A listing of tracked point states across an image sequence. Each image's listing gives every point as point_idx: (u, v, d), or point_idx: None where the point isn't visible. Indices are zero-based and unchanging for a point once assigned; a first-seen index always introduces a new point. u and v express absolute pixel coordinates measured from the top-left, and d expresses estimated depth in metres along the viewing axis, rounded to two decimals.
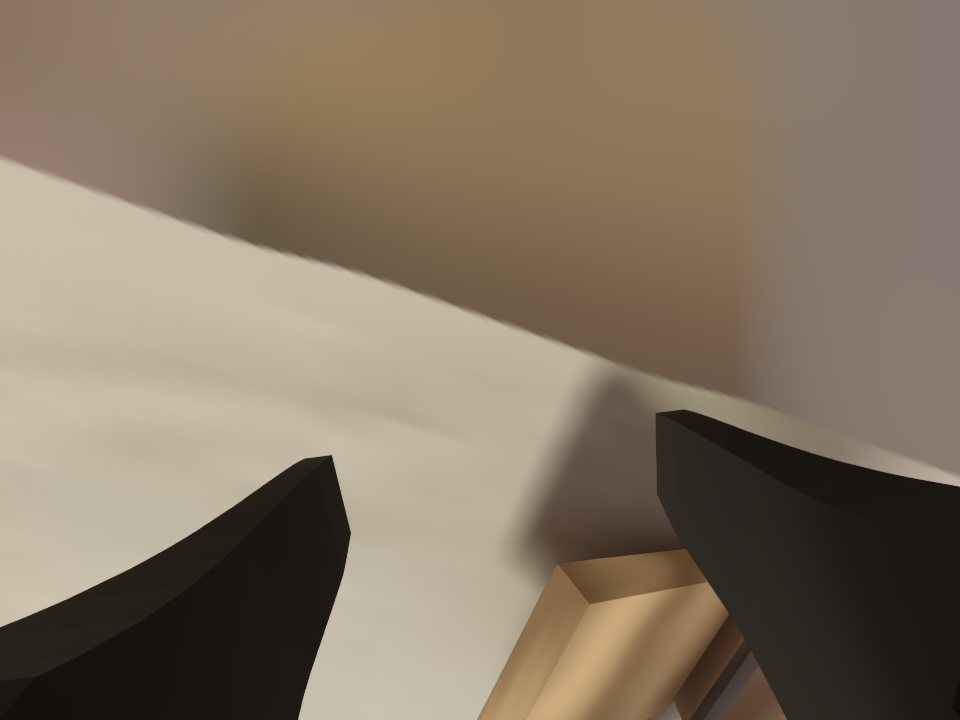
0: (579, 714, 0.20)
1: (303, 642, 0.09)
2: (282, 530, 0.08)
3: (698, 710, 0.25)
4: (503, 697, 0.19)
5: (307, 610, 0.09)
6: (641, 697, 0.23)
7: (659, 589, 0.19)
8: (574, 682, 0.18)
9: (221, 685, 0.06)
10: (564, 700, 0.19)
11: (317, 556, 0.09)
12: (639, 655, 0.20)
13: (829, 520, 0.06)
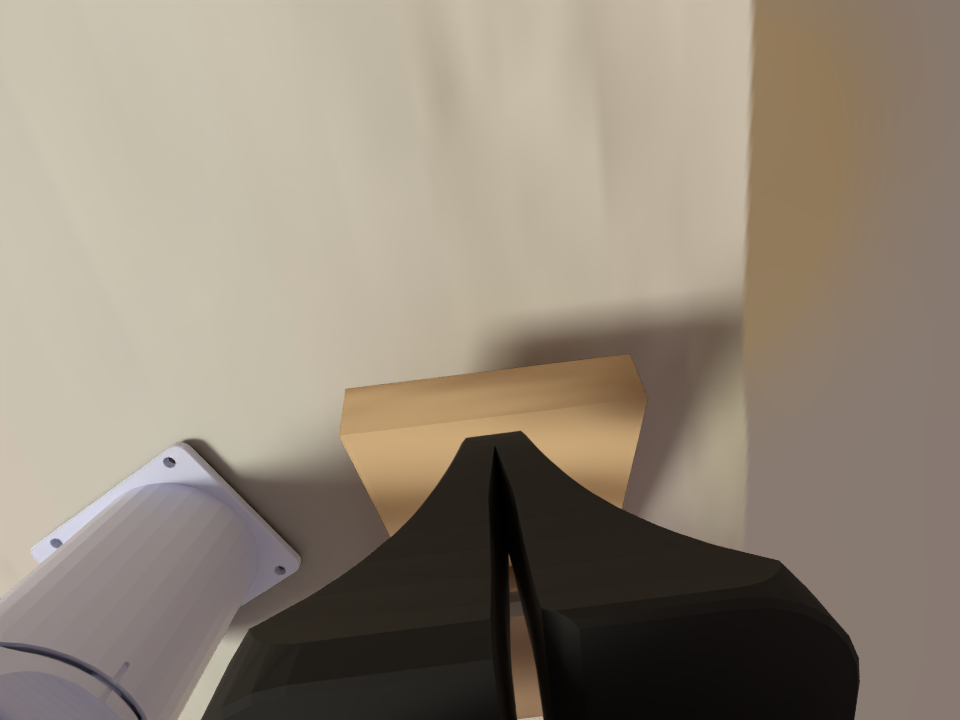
0: None
1: (506, 616, 0.09)
2: (493, 503, 0.08)
3: None
4: (442, 391, 0.15)
5: (504, 585, 0.09)
6: None
7: (630, 466, 0.17)
8: None
9: (504, 649, 0.06)
10: None
11: (502, 532, 0.09)
12: None
13: (526, 558, 0.06)
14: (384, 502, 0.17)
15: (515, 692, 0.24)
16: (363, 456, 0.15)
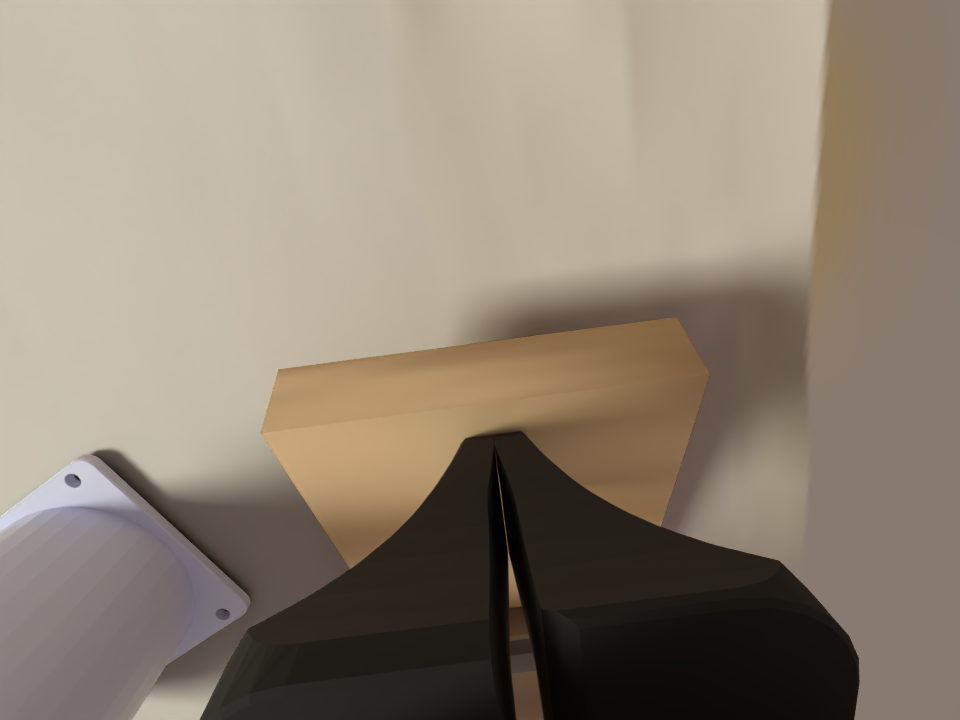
0: (421, 501, 0.12)
1: (505, 616, 0.09)
2: (492, 503, 0.08)
3: None
4: (413, 369, 0.11)
5: (504, 585, 0.09)
6: None
7: (675, 476, 0.13)
8: None
9: (503, 649, 0.06)
10: None
11: (501, 532, 0.09)
12: None
13: (526, 559, 0.06)
14: (338, 528, 0.13)
15: None
16: (301, 464, 0.11)
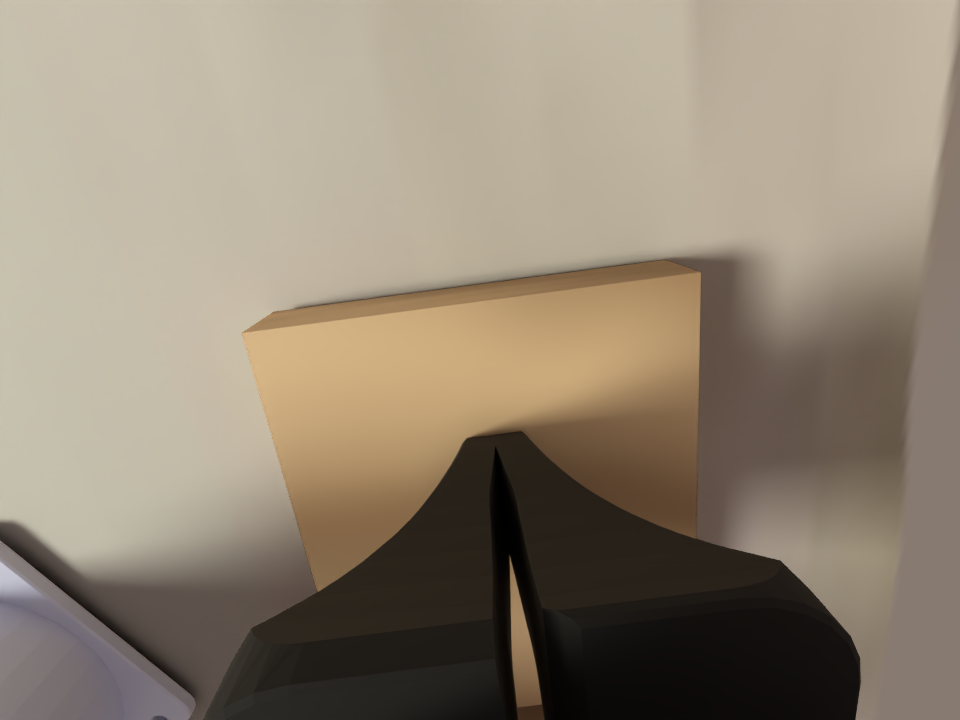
0: (405, 462, 0.11)
1: (507, 616, 0.09)
2: (493, 503, 0.08)
3: None
4: (404, 299, 0.11)
5: (505, 585, 0.09)
6: None
7: (696, 444, 0.11)
8: (500, 380, 0.10)
9: (505, 649, 0.06)
10: (457, 385, 0.10)
11: (502, 532, 0.09)
12: None
13: (527, 558, 0.06)
14: (309, 506, 0.11)
15: None
16: (277, 386, 0.10)
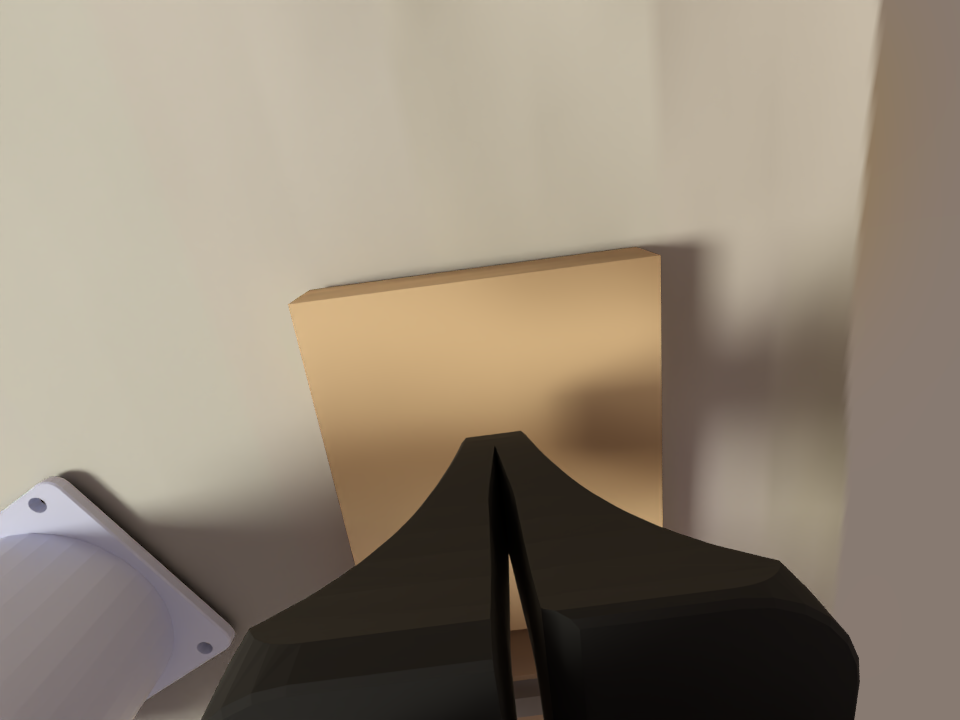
0: (419, 413, 0.13)
1: (506, 616, 0.09)
2: (493, 503, 0.08)
3: None
4: (418, 279, 0.13)
5: (504, 585, 0.09)
6: None
7: (660, 399, 0.13)
8: (497, 344, 0.13)
9: (504, 649, 0.06)
10: (462, 348, 0.13)
11: (502, 532, 0.09)
12: None
13: (526, 558, 0.06)
14: (340, 450, 0.13)
15: None
16: (316, 348, 0.12)
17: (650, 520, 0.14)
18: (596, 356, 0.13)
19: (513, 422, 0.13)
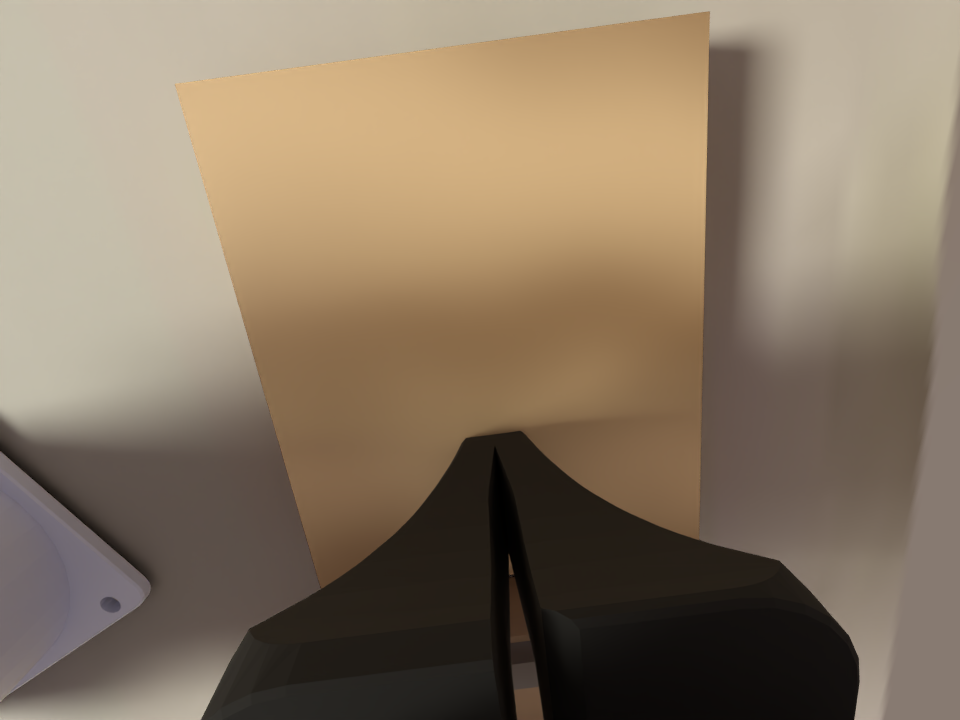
0: (369, 260, 0.09)
1: (506, 616, 0.09)
2: (493, 503, 0.08)
3: None
4: None
5: (504, 585, 0.09)
6: (387, 459, 0.11)
7: (703, 244, 0.10)
8: (477, 153, 0.09)
9: (504, 649, 0.06)
10: (427, 159, 0.09)
11: (502, 532, 0.09)
12: (522, 336, 0.10)
13: (526, 559, 0.06)
14: (261, 315, 0.10)
15: None
16: (219, 156, 0.09)
17: (685, 422, 0.11)
18: (615, 173, 0.09)
19: (500, 275, 0.10)
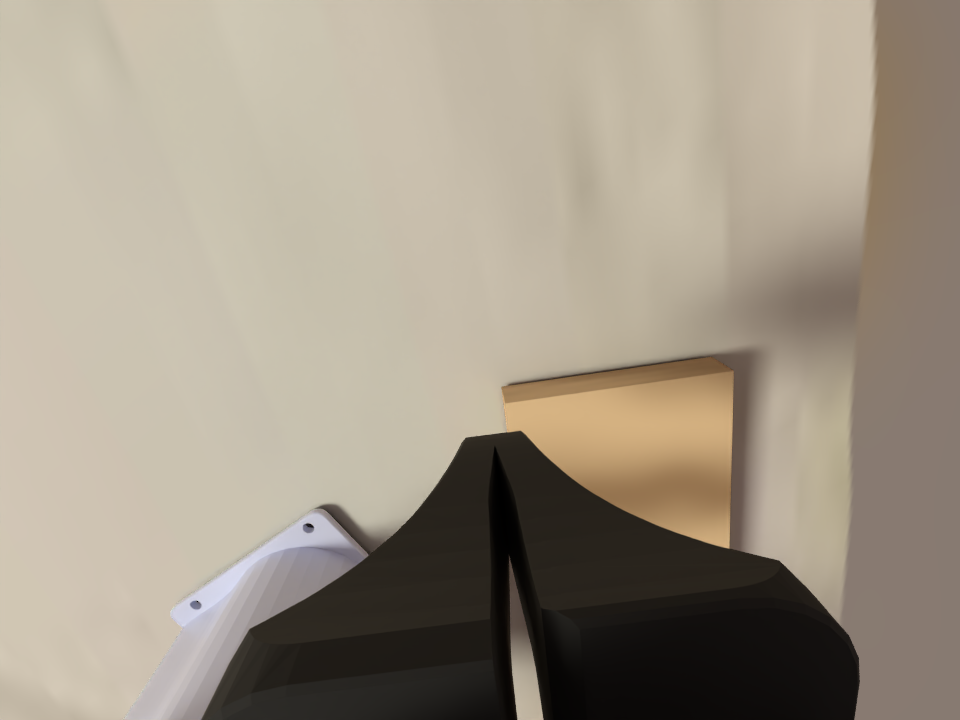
0: (578, 467, 0.21)
1: (506, 616, 0.09)
2: (493, 503, 0.08)
3: None
4: (575, 381, 0.21)
5: (504, 585, 0.09)
6: None
7: (730, 456, 0.21)
8: (630, 424, 0.20)
9: (504, 649, 0.06)
10: (608, 427, 0.20)
11: (502, 532, 0.09)
12: (645, 497, 0.21)
13: (526, 558, 0.06)
14: None
15: None
16: (518, 429, 0.20)
17: (721, 533, 0.22)
18: (691, 430, 0.20)
19: (637, 471, 0.21)
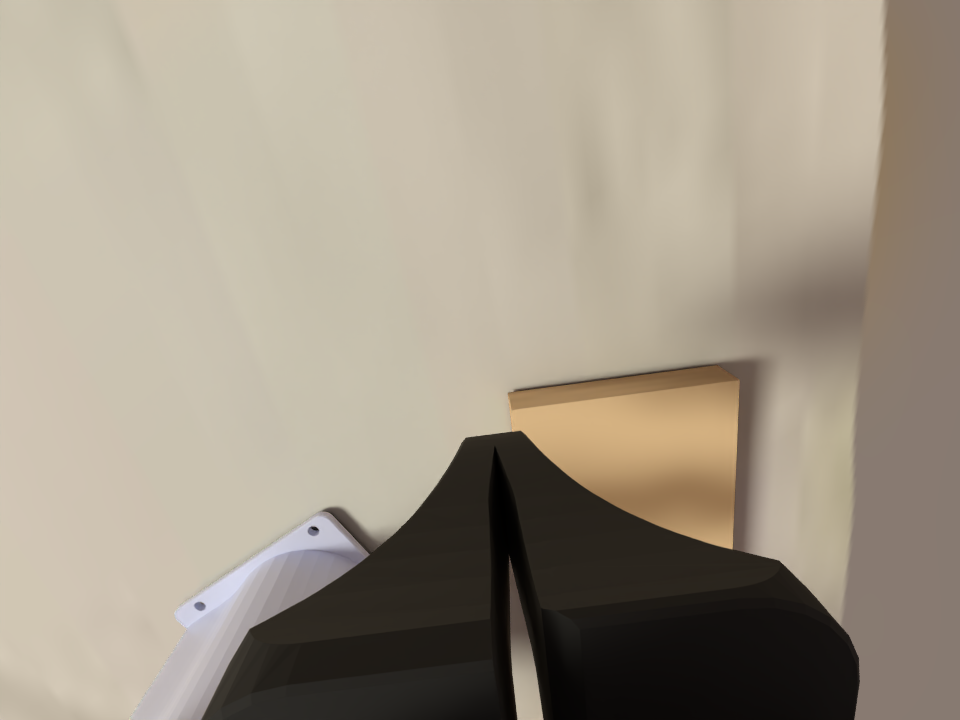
0: (583, 474, 0.21)
1: (506, 616, 0.09)
2: (493, 503, 0.08)
3: None
4: (582, 388, 0.21)
5: (504, 585, 0.09)
6: None
7: (734, 464, 0.21)
8: (636, 432, 0.20)
9: (504, 649, 0.06)
10: (614, 434, 0.20)
11: (502, 532, 0.09)
12: (649, 504, 0.21)
13: (526, 559, 0.06)
14: None
15: None
16: None
17: (725, 540, 0.22)
18: (697, 438, 0.20)
19: (641, 479, 0.21)
